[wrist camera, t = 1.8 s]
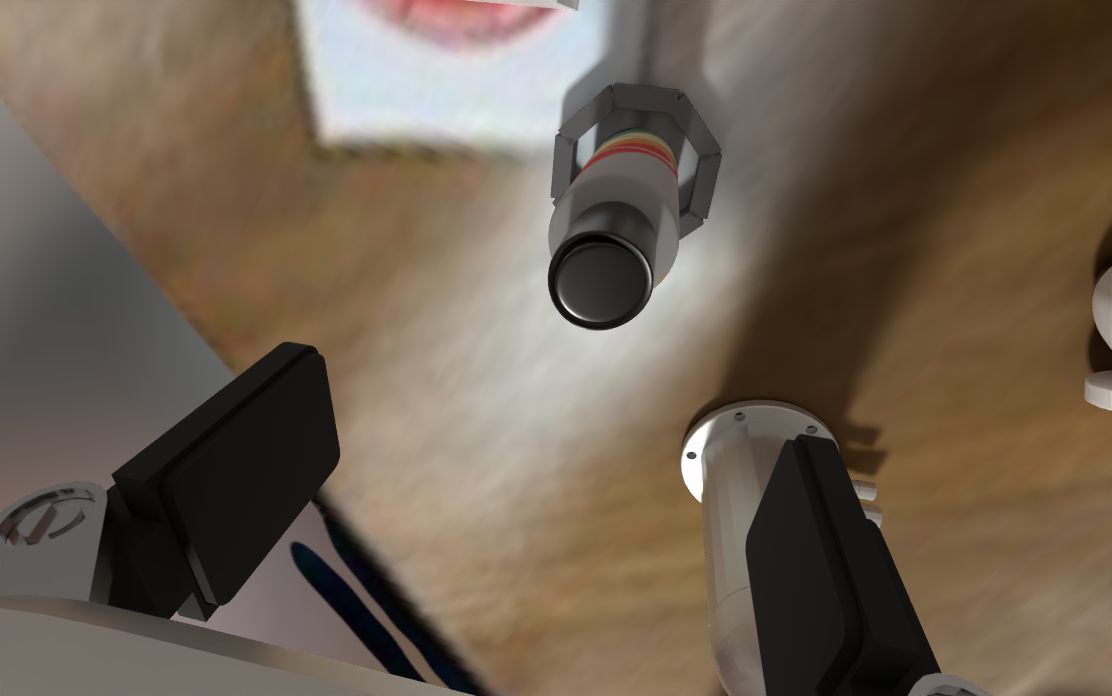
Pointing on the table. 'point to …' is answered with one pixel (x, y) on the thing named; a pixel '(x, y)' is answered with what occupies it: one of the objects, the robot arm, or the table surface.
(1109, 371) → the spread jar
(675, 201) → the lotion bottle
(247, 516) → the robot arm
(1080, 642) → the table surface
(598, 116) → the collar
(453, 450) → the table surface
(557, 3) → the bin
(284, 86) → the table surface
